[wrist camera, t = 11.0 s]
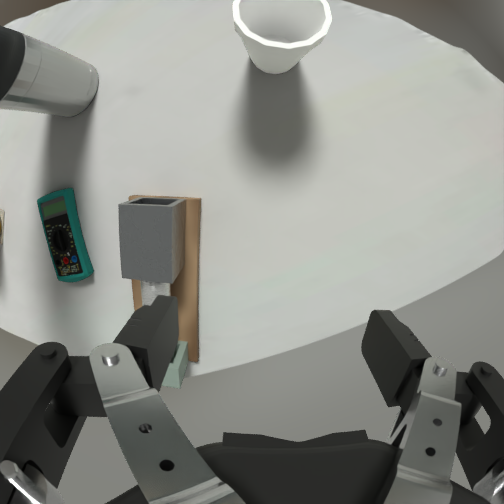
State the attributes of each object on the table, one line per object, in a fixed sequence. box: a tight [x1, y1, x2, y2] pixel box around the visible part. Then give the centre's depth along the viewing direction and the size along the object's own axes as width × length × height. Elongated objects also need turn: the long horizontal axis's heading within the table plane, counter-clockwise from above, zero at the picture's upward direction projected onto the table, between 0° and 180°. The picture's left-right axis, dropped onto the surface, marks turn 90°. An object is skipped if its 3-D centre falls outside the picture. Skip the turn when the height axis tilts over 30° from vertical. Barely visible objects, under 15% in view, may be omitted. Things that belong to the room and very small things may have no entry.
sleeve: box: [119, 197, 186, 284], centre depth 34 cm, size 7×9×7 cm
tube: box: [140, 280, 175, 364], centre depth 37 cm, size 4×19×4 cm, turn 175°
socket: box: [161, 341, 188, 388], centre depth 40 cm, size 7×4×7 cm, turn 85°
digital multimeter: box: [37, 188, 94, 282], centre depth 38 cm, size 7×15×3 cm, turn 9°
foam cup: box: [232, 0, 332, 74], centre depth 25 cm, size 10×9×13 cm
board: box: [129, 195, 201, 362], centre depth 41 cm, size 10×26×2 cm, turn 175°
